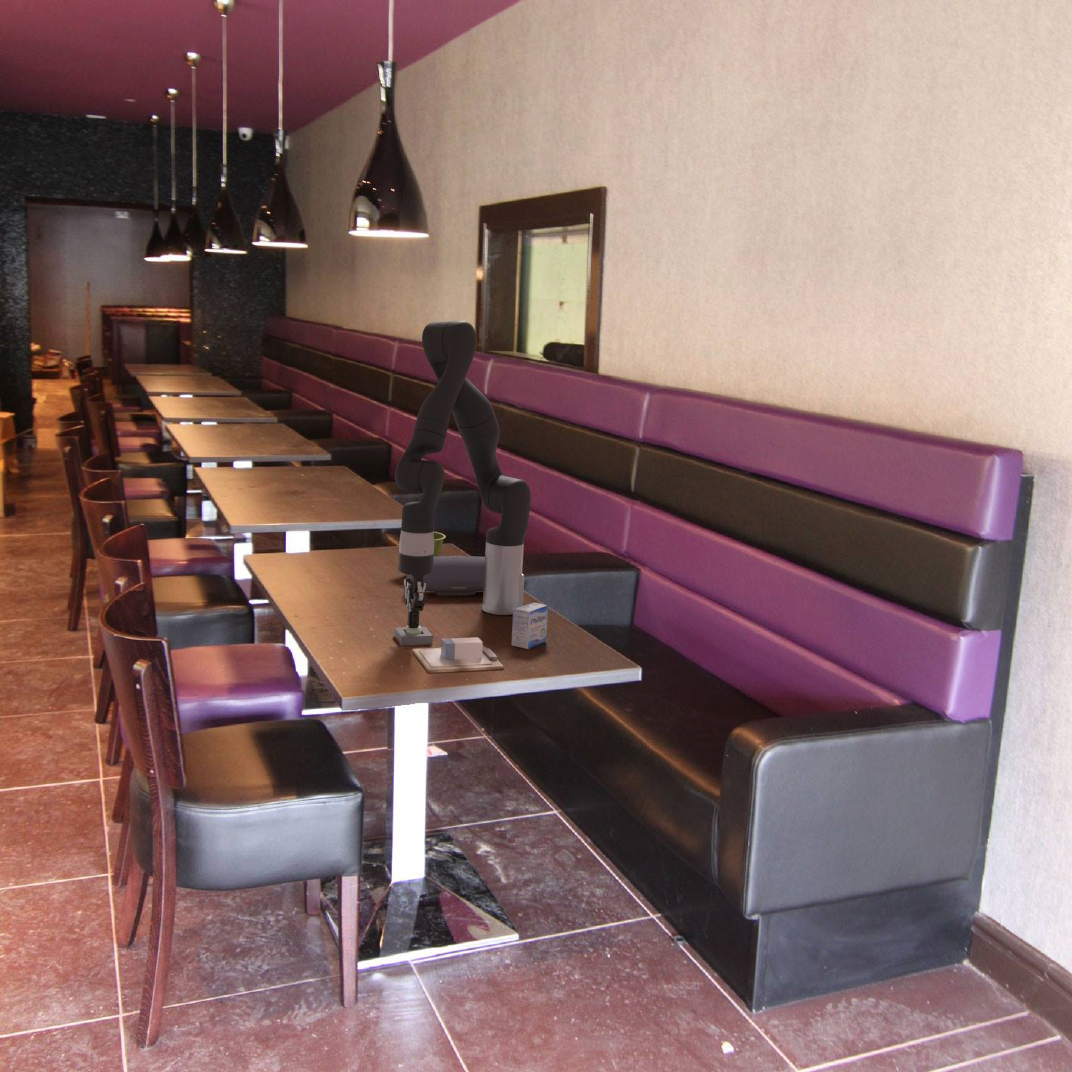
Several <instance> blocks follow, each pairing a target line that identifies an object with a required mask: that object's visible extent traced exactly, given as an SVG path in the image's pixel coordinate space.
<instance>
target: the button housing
mask: <svg viewBox="0 0 1072 1072" xmlns="http://www.w3.org/2000/svg"><path fill="white" fill-rule="evenodd" d="M421 627H422V629H421V634H409V635H407V634H406V626H405V627H404V626H403V627H394V633H393V635H394V636H393V637H394V638H395V639H396V641H397V642H398V643H399V645H400V646H402V647H403V646H426V645H428V646H429V645H433V644H434V643H433V640H434V636H433V634H432V632H430V630H429V629H428V628H427V627H426V626H421Z"/></svg>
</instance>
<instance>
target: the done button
mask: <svg viewBox="0 0 1072 1072" xmlns="http://www.w3.org/2000/svg"><path fill="white" fill-rule="evenodd" d="M405 627H406V634H407V635H409V634H421V629H422V627H423V626H421V625H419V627H418V628H409V626H408V625H406V626H405Z"/></svg>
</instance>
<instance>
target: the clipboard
mask: <svg viewBox="0 0 1072 1072" xmlns="http://www.w3.org/2000/svg"><path fill="white" fill-rule="evenodd" d="M412 653H413V654H414V655H415V657H416V658H417V659H418V661H419V662H420V663H421V665H422V666H423V668H424V669H425V670H426V672H427V673H428V674H431V673H432V674H435V673H451V672H454V673H455V672H469V671H470V672H474V671H490V670H491V671H492V670H493V671H494V670H504V668H505V667H504V664H502V663H501V662H500V661H499V659H498V656H497V655H496V654H495V653H494V651H492V650H491V648H489V647H486V645H483V646H482V658H475V659H454V660H445V659H444V658H443V657H442V656H441V647H431V648H429V647H428V648H427V647H426V648H412Z"/></svg>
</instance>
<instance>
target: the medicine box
mask: <svg viewBox="0 0 1072 1072" xmlns="http://www.w3.org/2000/svg"><path fill="white" fill-rule="evenodd" d="M548 608H549V606H548V605H547V604H542V603H538V602H530V603H528V604H523V606H521V607H518V608H516V609H514V610H513V614H512V628H511V629H512V630H511V631H512V632H511V646H513V647H517V648H521V649H524V650H531V649H532V648H535V647H537V646H539V645H542V644H543V643H545V642H547V629H548V628H547V627H548V614H549V613H548V612H549V611H548Z"/></svg>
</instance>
